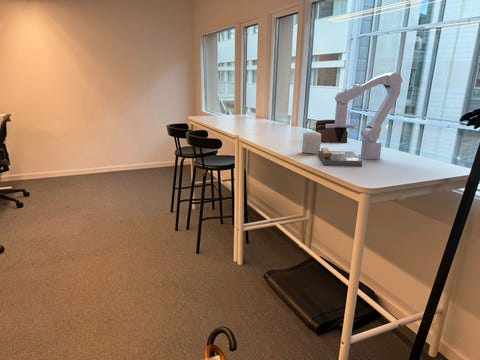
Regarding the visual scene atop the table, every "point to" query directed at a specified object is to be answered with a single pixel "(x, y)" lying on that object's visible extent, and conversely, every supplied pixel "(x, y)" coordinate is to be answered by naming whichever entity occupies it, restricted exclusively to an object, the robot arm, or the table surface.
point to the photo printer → (311, 142)
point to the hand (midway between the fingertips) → (338, 142)
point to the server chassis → (341, 159)
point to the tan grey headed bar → (326, 152)
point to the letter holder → (329, 132)
